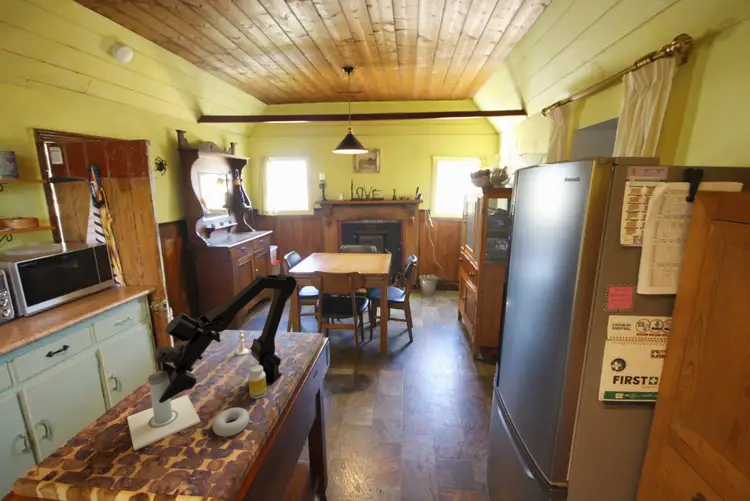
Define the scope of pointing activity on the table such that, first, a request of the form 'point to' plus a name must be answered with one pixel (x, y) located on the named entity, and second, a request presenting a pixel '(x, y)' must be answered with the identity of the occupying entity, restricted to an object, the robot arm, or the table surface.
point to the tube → (157, 388)
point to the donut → (234, 427)
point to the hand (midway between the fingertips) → (157, 394)
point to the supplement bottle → (257, 382)
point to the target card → (150, 432)
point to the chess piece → (241, 346)
